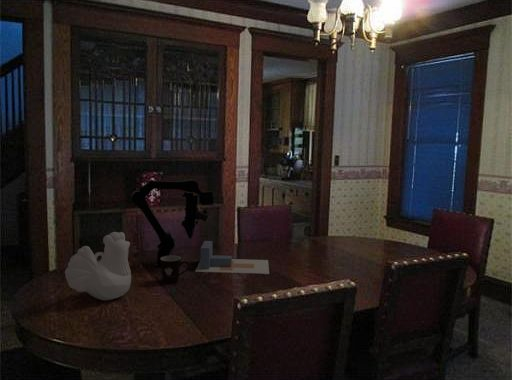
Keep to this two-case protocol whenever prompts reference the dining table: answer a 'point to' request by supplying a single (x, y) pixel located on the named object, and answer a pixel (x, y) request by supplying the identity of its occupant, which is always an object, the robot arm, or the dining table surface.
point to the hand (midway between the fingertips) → (191, 237)
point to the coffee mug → (171, 268)
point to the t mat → (240, 267)
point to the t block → (213, 257)
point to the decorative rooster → (101, 269)
